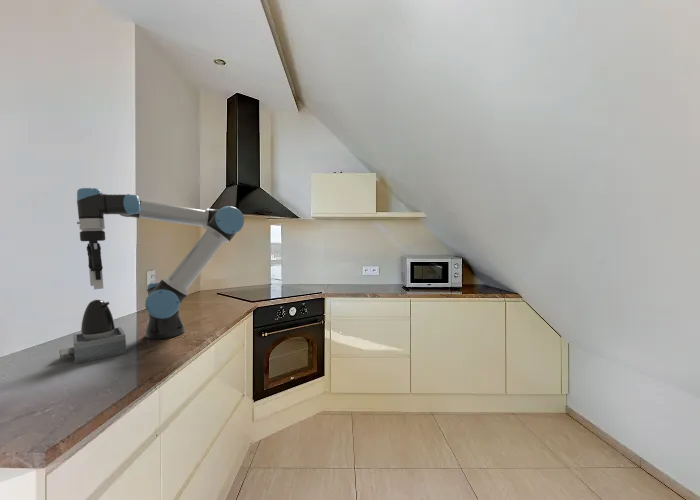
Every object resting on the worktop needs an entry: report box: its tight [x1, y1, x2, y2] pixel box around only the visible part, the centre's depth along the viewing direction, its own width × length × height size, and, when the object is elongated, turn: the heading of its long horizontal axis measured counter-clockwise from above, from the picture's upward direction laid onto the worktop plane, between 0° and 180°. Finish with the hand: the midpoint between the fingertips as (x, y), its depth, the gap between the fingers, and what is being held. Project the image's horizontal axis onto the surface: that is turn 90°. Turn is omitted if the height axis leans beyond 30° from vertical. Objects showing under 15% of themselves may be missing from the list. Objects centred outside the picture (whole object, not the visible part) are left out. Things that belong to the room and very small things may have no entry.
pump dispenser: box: [80, 299, 116, 341], centre depth 129 cm, size 10×10×15 cm
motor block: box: [59, 326, 128, 364], centre depth 128 cm, size 19×15×7 cm
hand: (96, 287), depth 129 cm, fingers open, 13 cm apart
